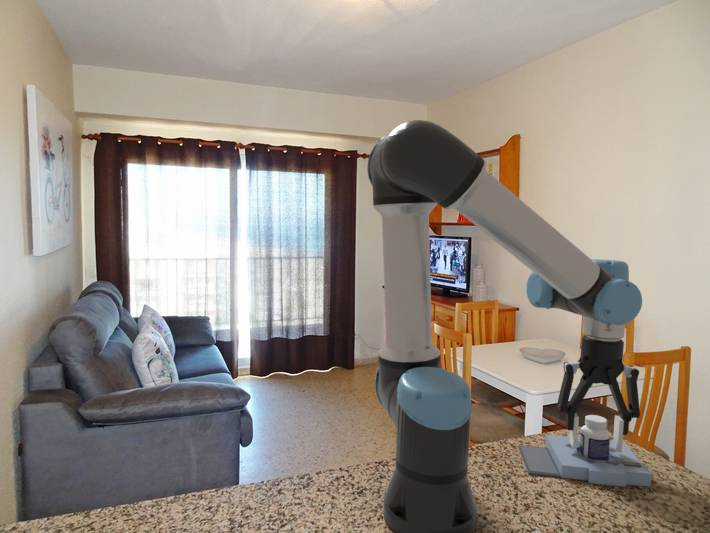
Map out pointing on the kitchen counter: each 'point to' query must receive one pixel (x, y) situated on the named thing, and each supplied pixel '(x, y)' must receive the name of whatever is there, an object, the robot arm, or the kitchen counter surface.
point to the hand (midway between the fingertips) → (594, 447)
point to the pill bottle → (595, 438)
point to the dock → (597, 464)
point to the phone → (538, 461)
